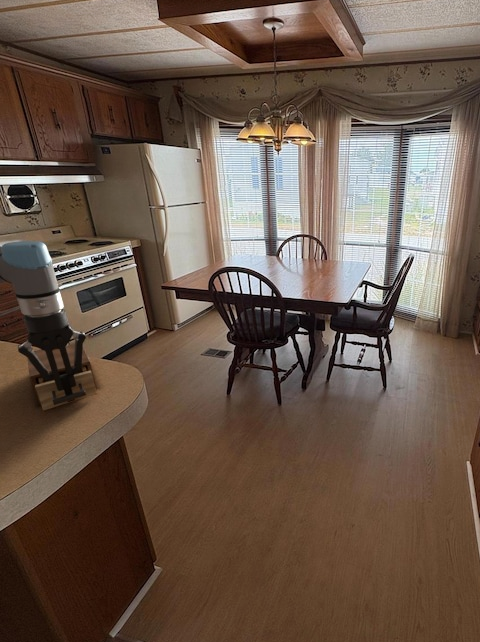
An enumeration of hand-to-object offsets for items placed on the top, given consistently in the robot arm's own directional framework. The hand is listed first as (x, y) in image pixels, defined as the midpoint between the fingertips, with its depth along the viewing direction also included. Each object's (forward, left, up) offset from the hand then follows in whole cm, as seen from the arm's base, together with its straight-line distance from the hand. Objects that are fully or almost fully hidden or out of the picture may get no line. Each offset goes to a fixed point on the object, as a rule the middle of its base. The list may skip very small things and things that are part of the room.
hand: (70, 398), depth 86 cm
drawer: (-7, -2, -3) cm, 8 cm away
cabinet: (-15, -4, -4) cm, 16 cm away
